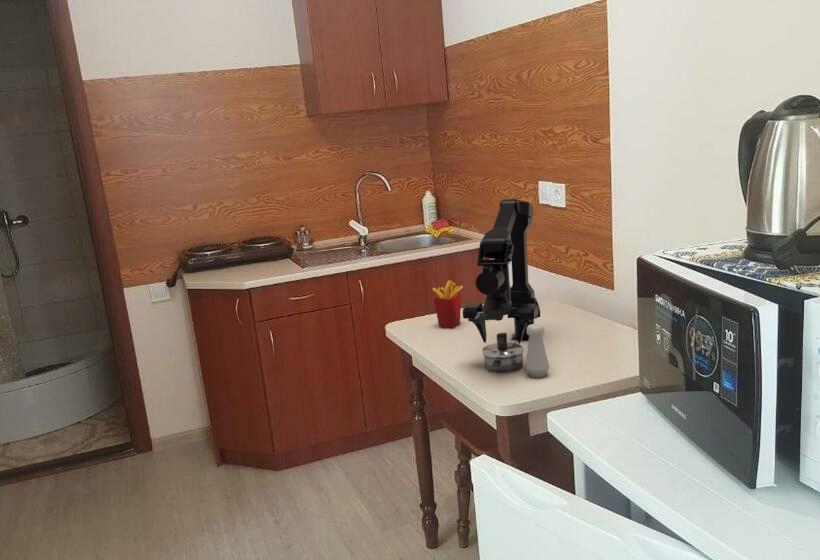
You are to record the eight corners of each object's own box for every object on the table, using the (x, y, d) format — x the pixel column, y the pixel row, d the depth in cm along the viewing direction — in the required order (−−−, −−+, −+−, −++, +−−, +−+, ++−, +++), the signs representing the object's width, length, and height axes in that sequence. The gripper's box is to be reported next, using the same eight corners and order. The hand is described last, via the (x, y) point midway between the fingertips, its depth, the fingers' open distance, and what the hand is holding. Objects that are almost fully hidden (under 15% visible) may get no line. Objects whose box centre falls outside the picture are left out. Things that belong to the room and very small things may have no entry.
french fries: (435, 328, 227) (431, 282, 224) (448, 321, 234) (444, 276, 231) (459, 330, 223) (455, 283, 219) (472, 323, 229) (468, 277, 226)
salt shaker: (549, 378, 177) (546, 328, 174) (525, 379, 178) (522, 329, 175) (549, 370, 182) (547, 321, 179) (526, 370, 183) (523, 322, 181)
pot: (492, 355, 197) (492, 341, 196) (529, 357, 193) (528, 342, 192) (477, 375, 183) (476, 360, 182) (515, 377, 180) (514, 362, 179)
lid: (488, 344, 194) (487, 327, 193) (527, 345, 190) (526, 328, 189) (477, 357, 185) (476, 339, 184) (518, 359, 181) (516, 341, 180)
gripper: (453, 292, 180) (458, 351, 183) (527, 292, 173) (531, 354, 176) (467, 281, 190) (471, 338, 193) (537, 281, 183) (540, 340, 186)
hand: (502, 342), depth 187 cm, fingers open, 9 cm apart
